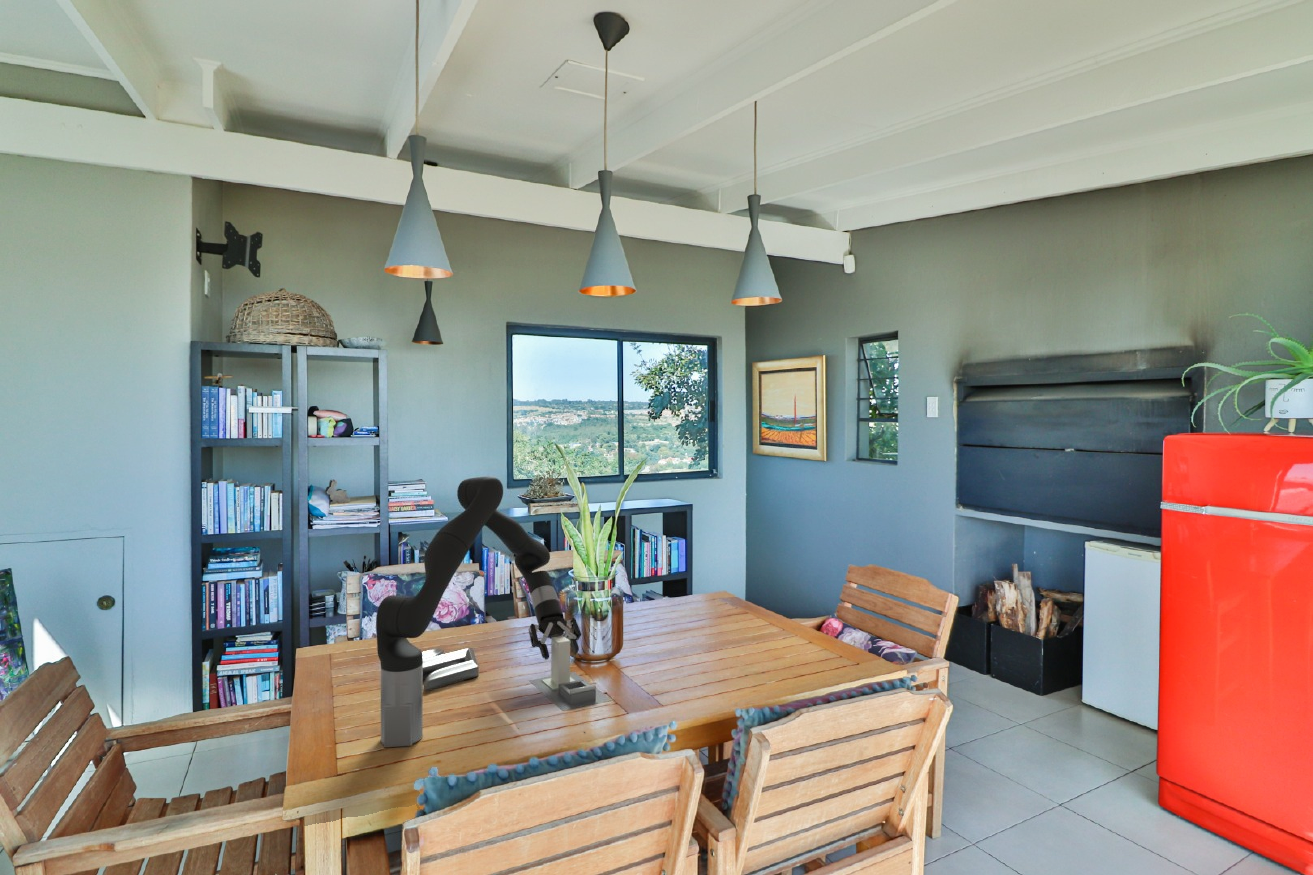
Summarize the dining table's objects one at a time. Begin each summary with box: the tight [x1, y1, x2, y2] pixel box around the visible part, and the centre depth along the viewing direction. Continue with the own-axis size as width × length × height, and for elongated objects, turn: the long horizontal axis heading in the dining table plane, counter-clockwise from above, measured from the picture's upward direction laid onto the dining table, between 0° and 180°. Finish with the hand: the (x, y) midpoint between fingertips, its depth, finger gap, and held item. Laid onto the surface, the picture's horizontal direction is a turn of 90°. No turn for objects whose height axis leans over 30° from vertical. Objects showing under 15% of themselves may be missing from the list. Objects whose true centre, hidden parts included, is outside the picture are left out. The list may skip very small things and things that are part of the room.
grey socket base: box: [528, 671, 613, 712], centre depth 196 cm, size 14×24×5 cm, turn 31°
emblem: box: [421, 647, 480, 692], centre depth 211 cm, size 28×5×28 cm
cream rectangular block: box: [550, 636, 571, 685], centre depth 201 cm, size 4×5×12 cm
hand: (561, 655), depth 200 cm, fingers open, 8 cm apart
